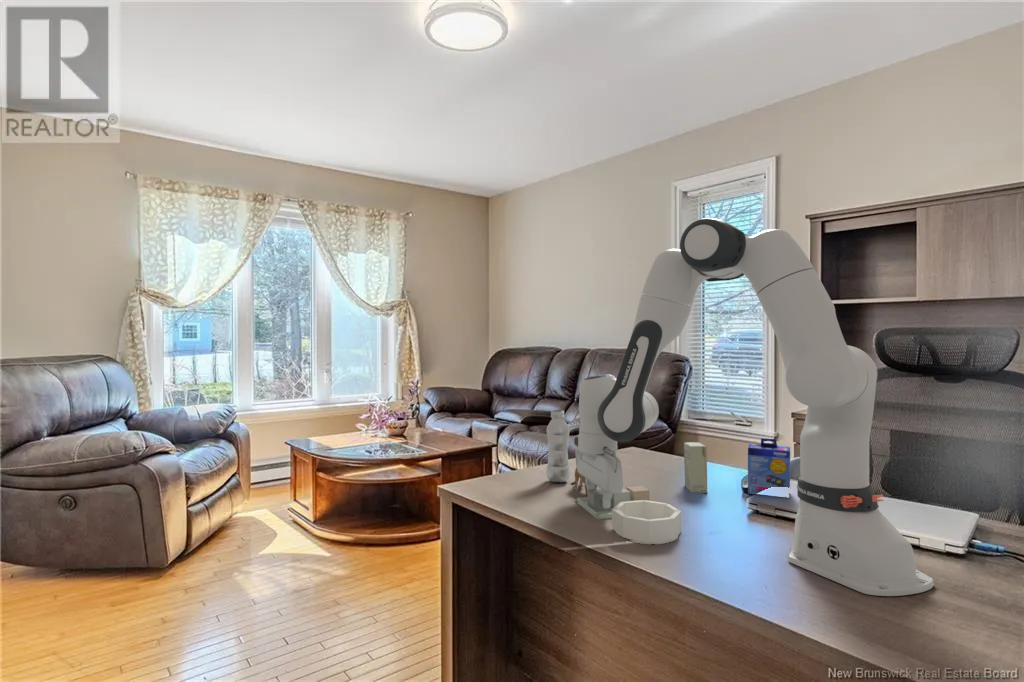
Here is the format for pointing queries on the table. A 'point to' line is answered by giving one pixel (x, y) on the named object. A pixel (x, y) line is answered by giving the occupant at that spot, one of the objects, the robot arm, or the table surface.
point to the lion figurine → (582, 480)
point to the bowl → (646, 521)
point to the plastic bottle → (558, 448)
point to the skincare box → (695, 466)
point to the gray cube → (596, 500)
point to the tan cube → (638, 493)
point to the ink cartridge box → (768, 466)
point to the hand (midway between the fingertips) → (598, 502)
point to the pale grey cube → (620, 497)
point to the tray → (597, 515)
